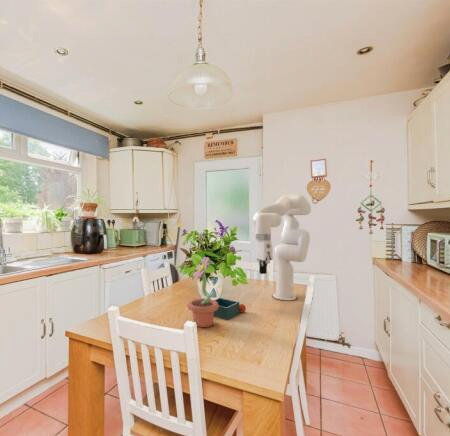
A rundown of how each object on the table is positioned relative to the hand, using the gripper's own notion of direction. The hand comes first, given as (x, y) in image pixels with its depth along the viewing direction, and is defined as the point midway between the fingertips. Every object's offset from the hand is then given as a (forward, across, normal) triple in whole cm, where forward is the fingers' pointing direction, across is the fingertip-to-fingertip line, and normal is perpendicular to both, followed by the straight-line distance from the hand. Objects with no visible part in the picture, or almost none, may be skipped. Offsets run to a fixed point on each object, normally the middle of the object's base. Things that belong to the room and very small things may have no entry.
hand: (263, 273), depth 140 cm
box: (+19, +1, +21) cm, 29 cm away
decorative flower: (+19, -9, +35) cm, 41 cm away
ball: (+19, +1, +11) cm, 22 cm away
